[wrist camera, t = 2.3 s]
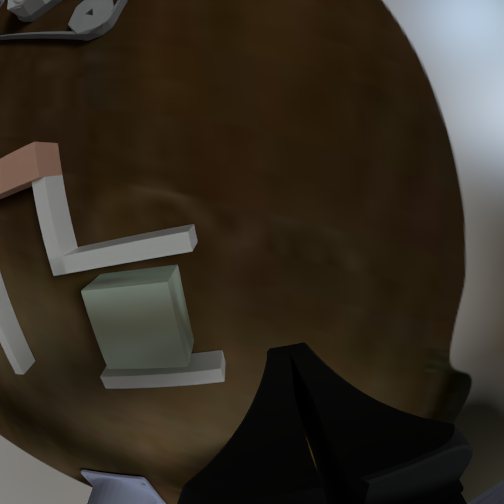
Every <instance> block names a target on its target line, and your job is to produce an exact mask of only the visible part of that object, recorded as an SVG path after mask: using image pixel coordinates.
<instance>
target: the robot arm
mask: <svg viewBox="0 0 504 504" xmlns="http://www.w3.org/2000/svg"><path fill="white" fill-rule="evenodd" d="M308 444H309V445H308ZM309 446H310V448H309ZM310 449H311V451H310ZM311 452H312V454H311ZM312 455H313V457H312ZM472 455H473V448H472V446H471V445H470V443H469V442H468V440H467V439H466V438H465V436H464V435H463V434H462V432H461V431H459V429H458V428H457V427H456V426H455V425H454V424H451V423H446V422H440V421H435V420H430V419H426V418H422V417H419V416H415V415H412V414H409V413H406V412H403V411H400V410H398V409H395V408H393V407H391V406H388V405H386V404H384V403H381V402H379V401H377V400H375V399H373V398H372V397H370V396H368V395H366V394H365V393H363V392H361V391H360V390H358V389H357V388H355V387H354V386H352V385H351V384H350V383H348V382H347V381H346V380H344V379H343V378H342V377H340V376H339V375H338V374H337V373H335V372H334V371H333V370H332V369H331V368H330V367H329V366H327V365H326V364H325V363H324V362H323V361H322V360H321V359H320V358H319V357H318V356H317V355H316V354H315V353H314V352H313V351H312V350H311V348H310V347H309V346H308V345H307V344H306V343H299V344H293V345H288V346H282V347H277V348H271V349H269V350H268V351H267V361H266V366H265V370H264V374H263V377H262V380H261V383H260V386H259V388H258V391H257V393H256V395H255V398H254V400H253V402H252V404H251V406H250V408H249V410H248V412H247V414H246V416H245V417H244V419H243V421H242V422H241V424H240V425H239V427H238V428H237V430H236V431H235V433H234V434H233V436H232V437H231V438H230V440H229V441H228V442H227V444H226V445H225V446H224V447H223V448H222V449H221V450H220V452H219V453H218V454H217V455H216V456H215V457H214V458H213V459H212V460H211V462H210V463H209V464H208V465H207V466H205V467H204V468H203V469H202V470H201V471H200V472H199V473H198V474H196V475H195V476H194V477H193V478H192V479H191V480H189V481H188V482H187V483H186V484H185V485H184V487H183V489H182V492H181V494H180V497H179V500H178V503H177V504H504V480H503V481H502V482H500V483H499V484H497V485H496V486H494V487H493V488H491V489H490V490H488V491H486V492H485V493H483V494H482V495H480V496H479V497H477V498H475V499H474V500H472V501H470V502H468V503H466V501H465V500H464V498H463V496H462V494H461V493H460V492H462V491H463V486H462V484H461V482H460V480H459V479H460V477H461V475H462V474H463V472H464V470H465V469H466V467H467V466H468V464H469V462H470V460H471V458H472ZM313 458H314V460H313ZM314 462H315V463H314ZM315 465H316V466H315ZM81 474H82V475H83V476H84V477H85V478H86V479H87V480H88V482H89V483H90V484H91V485H92V486H93V489H92V492H91V495H90V498H89V501H88V503H87V504H166V503H165V502H164V501H163V500H162V498H161V497H160V496H159V495H158V494H157V492H156V491H155V490H154V489H153V487H152V486H151V485H150V484H149V482H148V481H147V480H146V479H145V478H144V477H139V476H128V475H118V474H110V473H103V472H96V471H90V470H81Z"/></svg>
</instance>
